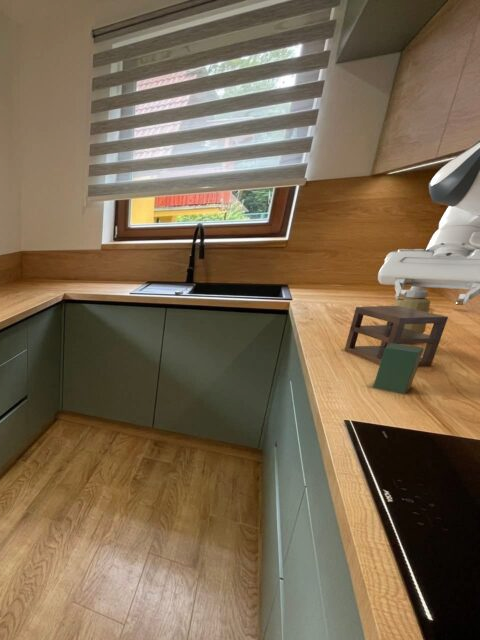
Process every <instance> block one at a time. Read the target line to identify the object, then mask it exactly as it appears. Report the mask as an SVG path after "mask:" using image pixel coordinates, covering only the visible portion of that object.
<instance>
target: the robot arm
mask: <svg viewBox="0 0 480 640" xmlns="http://www.w3.org/2000/svg"><path fill="white" fill-rule="evenodd" d="M428 192H429V196H430V198H431V201H432V202H433V203H435V204H439V205H443V206H446V207H447V206H448V207H447V208H446V210H445V211H444V213H443V215H442V216H441V218H440V220H439V222H438V229H437V230H436V231H435V232H434V233H433V234H432V236H431V237H430V240H429V241H428V244H427V246H426V248H410V249H409V248H399V249H398V250H393V251H390V252H389V253H387V255H386V257H385V259H384V263H383V264H382V266H381V267H380V269H379V271H378V273H377V282H379V284H380V285H382V286H383V285H385V286H394V291H395V292H396V293H395V295H394V300H395V301H397V300H404V299H405V297H406V295H407V290H408V289H404V288H405V287H412V286H415V287H424V288H430V289H431V288H433V289H448V290H462V291H463V290H464V291H465V290H466V291H468V292H467V293H459V295H458V297H457V299H456V303H455V305H456V306H468V303H469V301H470V300H472V299H474V298H475V297H478V296H479V295H480V140H478V141H477V142H475V143H474V144H473V145H471V146H469V148H467V149H466V150H464V151H463V152H461V153H459V154H458V155H457V156H455V157H454V158H453V159H451V160H450V161H448V162H447V163H446V164H444V165H443V166H442V167H441V168H440V169H439V170H438V171H437V172H436V173H435V175H434V176H433V177H432V178H431V179H430V181H429V182H428Z"/></svg>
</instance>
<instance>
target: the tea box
mask: <svg viewBox="0 0 480 640" xmlns="http://www.w3.org/2000/svg"><path fill="white" fill-rule="evenodd" d="M424 351H425V347H421V346H414V345H409V344H394V343H391V344H390V345H389V346H387V347H386V348H385V350H384V353H383V356H382V360H381V363H380V364H379V366H378V370H377V372H376V375H375V378H374V379H375V380H374V384H373V385H372V388H374V389H379V390H384V391H389V392H393V393H399V394H403V395H404V394H406V393H407V392H408V391H409V390H410V389H411V388H412V385H413V382H414V379H415V376H416V374H417V370H418V368H419V366H418V364H419V361H420V358H422V357H423V354H424Z"/></svg>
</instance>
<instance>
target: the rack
mask: <svg viewBox="0 0 480 640" xmlns="http://www.w3.org/2000/svg"><path fill="white" fill-rule="evenodd" d="M364 316H366V317H369V318H374V319H378V320H381V321H385V322H386V324H387V325H386V324H378V325H377V324H375V325H374V324H373V325H362V322H363V320H364V319H363V318H364ZM448 319H449V316H447V315H442V314H437V313H432V312H429V311H428V312H424V311H419V310H415V309H410V308H406V307H401V306H395V305H381V306H380V305H378V306H356V307H355V309H354V314H353V318H352V321H351V324H350V328H349V331H348V336H347V339H346V343H345V347H344V351H345V352H347V353H350V354H353V355H354V356H358V357H360V358H363V359H365V360H368V361H370V362H373V363H375V364H377V365H380V363H381V360H382V356H383V353H384V350H385V348H386V347H387V346H389V345H390V344H391V343H394V344H401V345H410V344H411V345H412V344H413V345H414V344H416V345H418V344H426V345H425V347H424V350H423V353H422V356H421V358H420V361H419V364H418V367H431V366H432V364H433V361H434V359H435V356H436V353H437V350H438V347H439V344H440V342H441V339H442V336H443V333H444V331H445V328H446V325H447V322H448ZM405 324H426V325H428V324H429V325H431V324H432V328H431V329H430V332H429V334H427V333H419V332H416V331H412V330H409V329H405V328H404V326H405ZM360 334H361V335H363V336H366V337H370V338H373V339H375V340H378V341H381V342H380V345H356V343H357V340H358V336H359V335H360Z"/></svg>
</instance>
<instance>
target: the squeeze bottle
mask: <svg viewBox="0 0 480 640" xmlns="http://www.w3.org/2000/svg"><path fill="white" fill-rule="evenodd" d="M406 290H407V295H406V297H405V299H404V300H395V304H394V306H401V307H406V308H410V309H415V310H419V311H424V312H428V313H429V310H430V306H431V301H430V299H428V295H429V290H425V287H415V286H410V288H409V289H406ZM385 325H387V323H386V324H385ZM404 328H405V329H409V330H412V331H416V332H419V333H423V334H425V331H426V328H427V324H405V326H404Z"/></svg>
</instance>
